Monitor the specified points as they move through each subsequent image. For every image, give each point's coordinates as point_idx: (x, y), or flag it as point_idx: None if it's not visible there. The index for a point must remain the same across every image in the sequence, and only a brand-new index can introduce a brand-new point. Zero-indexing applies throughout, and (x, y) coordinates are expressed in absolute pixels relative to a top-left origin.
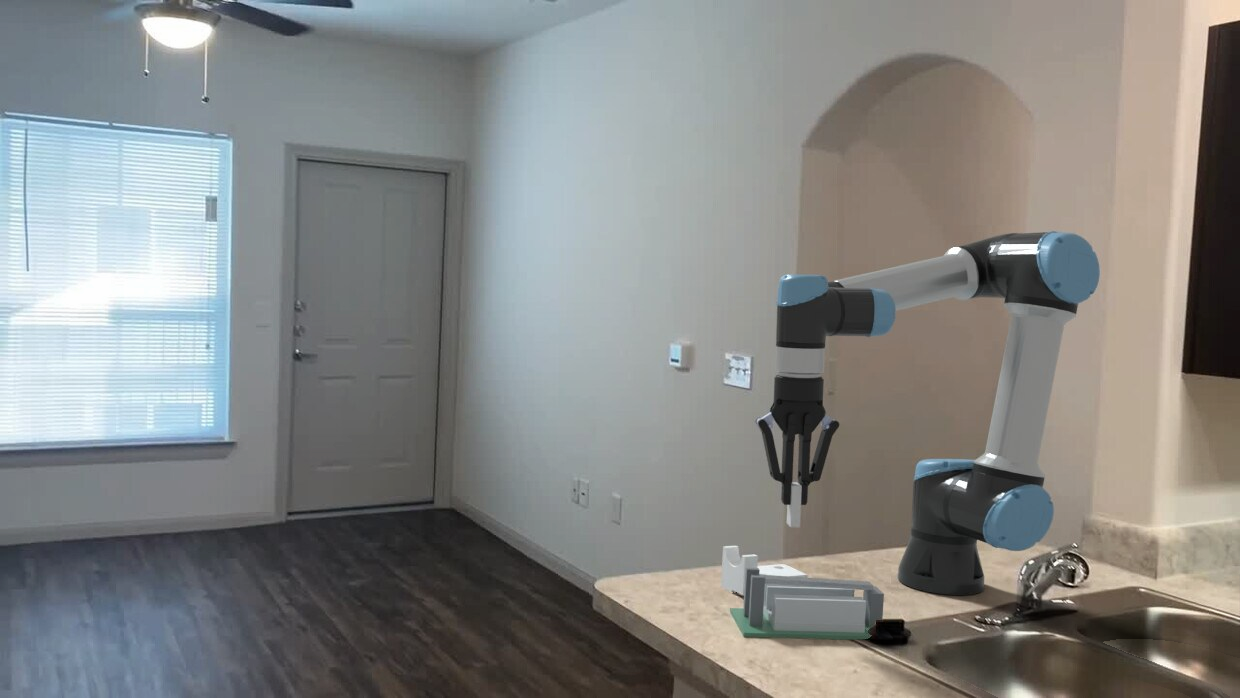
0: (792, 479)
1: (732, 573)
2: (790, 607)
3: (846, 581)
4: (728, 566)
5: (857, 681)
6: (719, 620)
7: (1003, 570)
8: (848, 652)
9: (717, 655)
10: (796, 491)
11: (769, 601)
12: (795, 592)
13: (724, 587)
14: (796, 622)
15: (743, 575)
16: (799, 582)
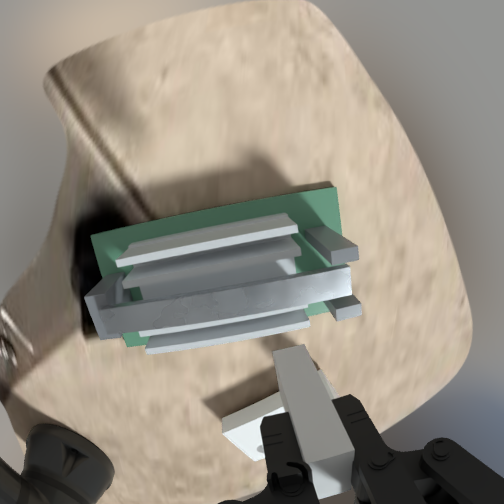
0: (363, 475)
1: None
2: (264, 226)
3: (148, 320)
4: None
5: (168, 36)
6: (364, 258)
7: None
8: (163, 153)
9: (370, 96)
10: (324, 436)
11: None
12: None
13: (339, 396)
14: (248, 224)
15: (329, 388)
16: (248, 285)
